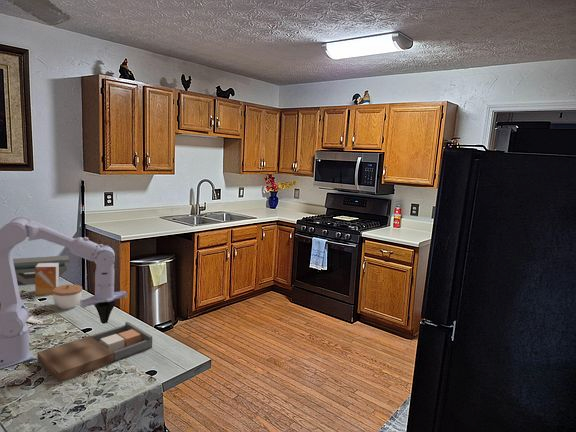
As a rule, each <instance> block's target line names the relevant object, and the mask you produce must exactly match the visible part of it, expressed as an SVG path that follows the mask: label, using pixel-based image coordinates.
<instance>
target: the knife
mask: <svg viewBox="0 0 576 432" xmlns="http://www.w3.org/2000/svg"><path fill="white" fill-rule="evenodd" d="M34 317H35V316H34V315H31V316H29V318H28V320H27V321H26V323H32V324H36V323H37V324H36V325H39V324H40V323H41V324H42V322H43V321H44V320H41V319H38V318H37V317H36V318H34ZM33 318H34V319H33ZM38 322H40V323H38Z"/></svg>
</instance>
